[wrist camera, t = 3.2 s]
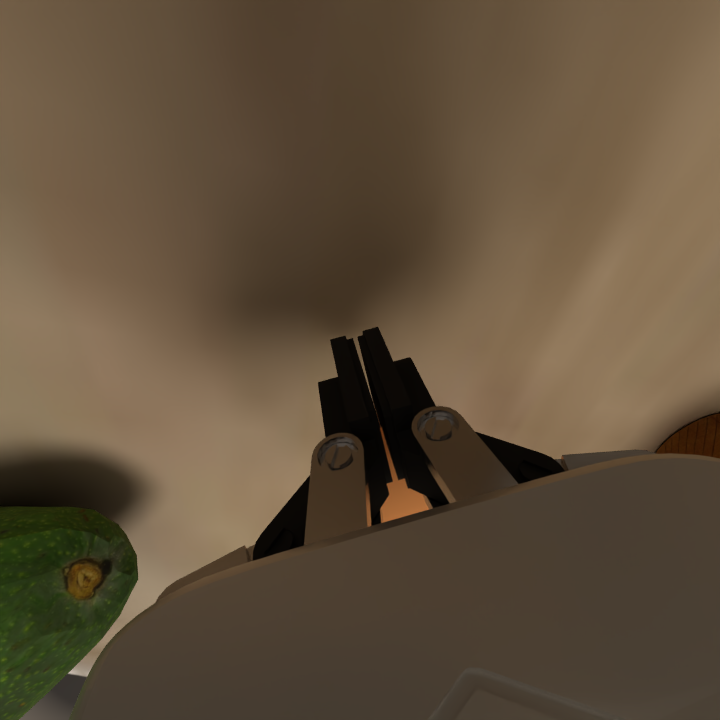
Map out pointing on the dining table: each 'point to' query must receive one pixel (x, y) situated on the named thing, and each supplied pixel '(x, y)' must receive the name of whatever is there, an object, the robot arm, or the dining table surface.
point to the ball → (400, 495)
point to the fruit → (56, 595)
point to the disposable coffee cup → (696, 439)
